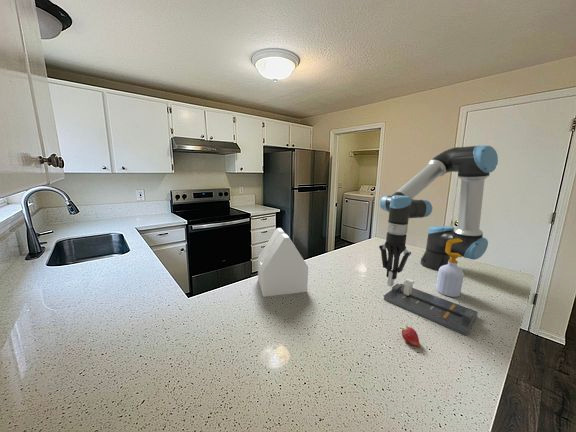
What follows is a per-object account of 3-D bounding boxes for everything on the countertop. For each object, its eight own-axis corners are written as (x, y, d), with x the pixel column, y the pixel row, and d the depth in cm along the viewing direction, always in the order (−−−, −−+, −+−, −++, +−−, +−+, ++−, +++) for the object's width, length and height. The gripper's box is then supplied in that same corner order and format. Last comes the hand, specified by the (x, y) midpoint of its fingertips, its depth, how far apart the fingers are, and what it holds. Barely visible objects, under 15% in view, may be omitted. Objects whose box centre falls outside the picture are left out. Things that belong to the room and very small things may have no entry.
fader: (406, 290, 100) (408, 278, 99) (412, 292, 98) (414, 280, 97) (402, 294, 97) (403, 282, 96) (408, 296, 95) (409, 284, 94)
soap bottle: (464, 298, 99) (474, 243, 94) (440, 296, 101) (449, 241, 96) (454, 288, 108) (463, 237, 103) (432, 286, 110) (440, 235, 105)
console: (400, 287, 107) (401, 279, 107) (476, 316, 87) (478, 306, 86) (383, 299, 97) (384, 290, 96) (466, 335, 77) (468, 324, 76)
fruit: (413, 350, 70) (415, 336, 69) (397, 337, 75) (398, 323, 74) (423, 346, 71) (425, 332, 70) (406, 334, 77) (408, 320, 76)
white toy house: (263, 296, 97) (263, 238, 92) (258, 280, 111) (258, 228, 106) (307, 291, 102) (309, 236, 97) (296, 276, 116) (298, 227, 111)
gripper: (377, 230, 100) (372, 282, 105) (409, 237, 91) (401, 293, 95) (385, 228, 105) (380, 277, 110) (416, 234, 96) (409, 288, 100)
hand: (390, 284), depth 102 cm, fingers closed
